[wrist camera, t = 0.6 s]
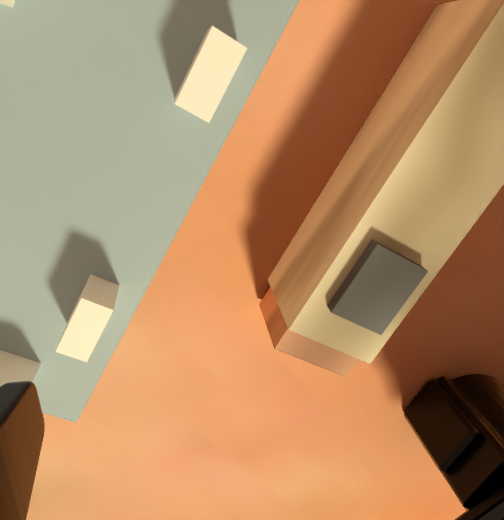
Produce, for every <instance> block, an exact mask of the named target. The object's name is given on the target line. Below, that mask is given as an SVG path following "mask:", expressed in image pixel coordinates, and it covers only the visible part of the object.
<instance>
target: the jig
mask: <svg viewBox="0 0 504 520" xmlns="http://www.w3.org/2000/svg"><path fill="white" fill-rule="evenodd" d="M299 1H300V0H0V386H2V385H3V384H5V383H10V382H21V381H31V382H33V383H34V384H35V386H36V389H37V392H38V397H39V401H40V405H41V410H42V413H45V414H49V415H52V416H56V417H59V418H63V419H66V420H70V421H73V422H77V421H78V419H79V417H80V415H81V413H82V411H83V409H84V407H85V405H86V404H87V402H88V400H89V398H90V396H91V394H92V392H93V390H94V388H95V387H96V385H97V383H98V381H99V379H100V377H101V375H102V373H103V371H104V369H105V368H106V366H107V364H108V362H109V360H110V358H111V356H112V354H113V352H114V351H115V349H116V347H117V345H118V343H119V341H120V339H121V337H122V335H123V334H124V332H125V330H126V328H127V326H128V324H129V322H130V320H131V318H132V317H133V315H134V313H135V311H136V309H137V307H138V305H139V303H140V301H141V299H142V298H143V296H144V294H145V292H146V290H147V288H148V286H149V284H150V282H151V281H152V279H153V277H154V275H155V273H156V271H157V269H158V267H159V265H160V264H161V262H162V260H163V258H164V256H165V254H166V252H167V250H168V248H169V246H170V245H171V243H172V241H173V239H174V237H175V235H176V233H177V231H178V229H179V228H180V226H181V224H182V222H183V220H184V218H185V216H186V214H187V212H188V211H189V209H190V207H191V205H192V203H193V201H194V199H195V197H196V195H197V194H198V192H199V190H200V188H201V186H202V184H203V182H204V180H205V178H206V176H207V175H208V173H209V171H210V169H211V167H212V165H213V163H214V161H215V159H216V158H217V156H218V154H219V152H220V150H221V148H222V146H223V144H224V142H225V141H226V139H227V137H228V135H229V133H230V131H231V129H232V127H233V125H234V124H235V122H236V120H237V118H238V116H239V114H240V112H241V110H242V108H243V106H244V105H245V103H246V101H247V99H248V97H249V95H250V93H251V91H252V89H253V88H254V86H255V84H256V82H257V80H258V78H259V76H260V74H261V72H262V71H263V69H264V67H265V65H266V63H267V61H268V59H269V57H270V55H271V54H272V52H273V50H274V48H275V46H276V44H277V42H278V40H279V38H280V36H281V35H282V33H283V31H284V29H285V27H286V25H287V23H288V21H289V19H290V18H291V16H292V14H293V12H294V10H295V8H296V6H297V4H298V2H299Z"/></svg>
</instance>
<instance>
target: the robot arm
mask: <svg viewBox="0 0 504 520" xmlns="http://www.w3.org/2000/svg"><path fill="white" fill-rule="evenodd" d="M404 416H405V418H406V420H407V421H408V423H409V424H410V426H411V427H412V429H413V430H414V432H415V433H416V435H417V437H418V438H419V440H420V441H421V443H422V444H423V446H424V447H425V449H426V451H427V452H428V454H429V455H430V457H431V458H432V460H433V461H434V463H435V465H436V466H437V468H438V469H439V470H440V471H441V473H442V474H443V476H444V477H445V479H446V480H447V482H448V484H449V485H450V487H451V488H452V490H453V491H454V493H455V494H456V496H457V498H458V499H459V501H460V502H461V504H462V505H463V507H464V508H465V509H466V512H464V513H463V514H462V515H460V516H459V517H458V518H456V519H455V520H504V386H503V385H502V384H501V383H500V382H499V381H498V380H496V379H495V378H493V377H490V376H487V375H482V374H470V375H465V376H461V377H458V378H455V379H449V378H446V377H443V376H442V377H439V378H438V379H437V380H434V379H431V380H429V381H428V383H427V384H426V385H425V386H424V388H423V389H422V390H421V391H420V393H419V394H418V395H417V396H416V398H415V399H414V400H413V401H412V402H411V404H410V405H409V406H408V407H407V409H406V410H405V412H404ZM43 437H44V418H43V414H42V410H41V405H40V401H39V397H38V392H37V389H36V386H35V384H34V383H33V382H31V381H21V382H10V383H5V384H3V385H2V386H0V520H26V517H27V513H28V508H29V503H30V498H31V494H32V489H33V484H34V480H35V475H36V470H37V465H38V461H39V456H40V451H41V446H42V442H43Z"/></svg>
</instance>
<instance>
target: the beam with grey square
mask: <svg viewBox="0 0 504 520" xmlns="http://www.w3.org/2000/svg"><path fill="white" fill-rule="evenodd" d="M503 185H504V0H458V1H453V2H448V3H443V4H438V5H437V6H436V8H435V9H434V11H433V12H432V14H431V16H430V17H429V19H428V21H427V22H426V24H425V25H424V27H423V29H422V30H421V32H420V33H419V35H418V37H417V38H416V40H415V42H414V43H413V45H412V46H411V48H410V50H409V51H408V53H407V55H406V56H405V58H404V59H403V61H402V63H401V64H400V66H399V67H398V69H397V71H396V72H395V74H394V76H393V77H392V79H391V80H390V82H389V84H388V85H387V87H386V89H385V90H384V92H383V93H382V95H381V97H380V98H379V100H378V101H377V103H376V105H375V106H374V108H373V110H372V111H371V113H370V114H369V116H368V118H367V119H366V121H365V123H364V124H363V126H362V127H361V129H360V131H359V132H358V134H357V135H356V137H355V139H354V140H353V142H352V144H351V145H350V147H349V148H348V150H347V152H346V153H345V155H344V157H343V158H342V160H341V161H340V163H339V165H338V166H337V168H336V169H335V171H334V173H333V174H332V176H331V178H330V179H329V181H328V182H327V184H326V186H325V187H324V189H323V191H322V192H321V194H320V195H319V197H318V199H317V200H316V202H315V203H314V205H313V207H312V208H311V210H310V212H309V213H308V215H307V216H306V218H305V220H304V221H303V223H302V225H301V226H300V228H299V229H298V231H297V233H296V234H295V236H294V237H293V239H292V241H291V242H290V244H289V246H288V247H287V249H286V250H285V252H284V254H283V255H282V257H281V259H280V260H279V262H278V263H277V265H276V267H275V268H274V270H273V271H272V273H271V275H270V276H269V278H268V282H269V285H270V288H269V289H268V291H267V293H266V294H265V296H264V297H263V299H262V301H261V302H260V304H259V305H260V308H261V311H262V314H263V317H264V320H265V323H266V326H267V328H268V331H269V334H270V337H271V340H272V343H273V346H274V349H276V350H279V351H281V352H284V353H286V354H289V355H291V356H294V357H296V358H299V359H301V360H304V361H306V362H309V363H311V364H314V365H316V366H319V367H321V368H324V369H326V370H329V371H331V372H334V373H336V374H339V375H341V376H344V377H347V376H348V374H349V373H350V372H351V370H352V369H353V368H354V366H355V365H356V363H357V362H358V361H359V360H362V361H364V362H367V363H369V364H370V363H371V362H372V361H373V359H374V358H375V357H376V355H377V354H378V353H379V351H380V350H381V349H382V347H383V346H384V345H385V343H386V342H387V341H388V339H389V338H390V336H391V335H392V334H393V332H394V331H395V330H396V328H397V327H398V326H399V324H400V323H401V322H402V320H403V319H404V318H405V316H406V315H407V314H408V312H409V311H410V310H411V308H412V307H413V306H414V304H415V303H416V302H417V300H418V299H419V298H420V296H421V295H422V293H423V292H424V291H425V289H426V288H427V287H428V285H429V284H430V283H431V281H432V280H433V279H434V277H435V276H436V275H437V273H438V272H439V271H440V269H441V268H442V267H443V265H444V264H445V263H446V261H447V260H448V259H449V257H450V256H451V255H452V253H453V252H454V251H455V249H456V248H457V246H458V245H459V244H460V242H461V241H462V240H463V238H464V237H465V236H466V234H467V233H468V232H469V230H470V229H471V228H472V226H473V225H474V224H475V222H476V221H477V220H478V218H479V217H480V216H481V214H482V213H483V212H484V210H485V209H486V208H487V206H488V205H489V203H490V202H491V201H492V199H493V198H494V197H495V195H496V194H497V193H498V191H499V190H500V189H501V187H502V186H503Z"/></svg>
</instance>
